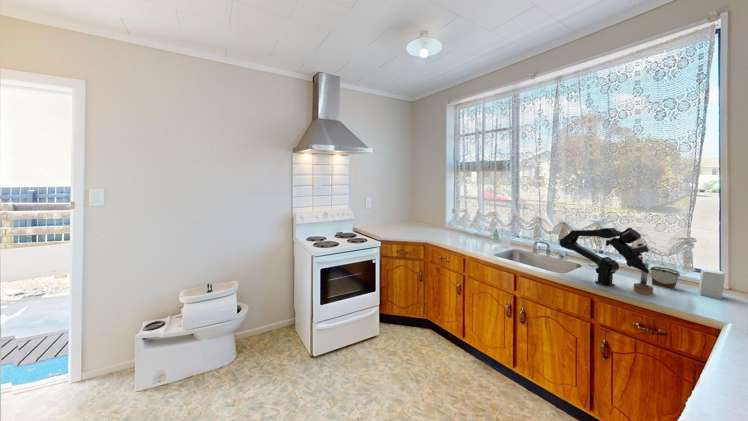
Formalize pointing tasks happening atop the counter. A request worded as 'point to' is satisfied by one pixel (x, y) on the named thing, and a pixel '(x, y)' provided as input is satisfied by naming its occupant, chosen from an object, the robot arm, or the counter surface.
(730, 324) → the counter surface
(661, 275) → the food container
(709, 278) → the supplement box
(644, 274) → the teal-capped metal tube
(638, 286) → the brown octagonal ring
